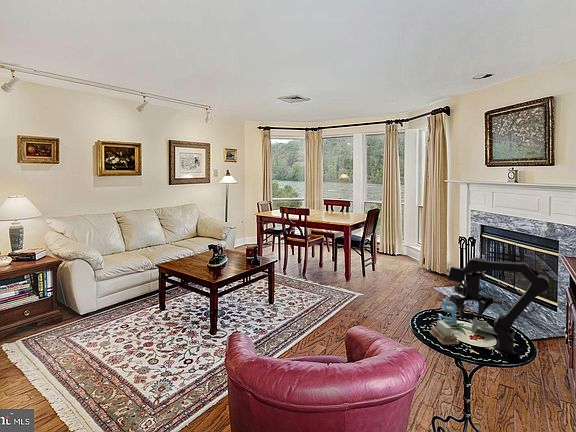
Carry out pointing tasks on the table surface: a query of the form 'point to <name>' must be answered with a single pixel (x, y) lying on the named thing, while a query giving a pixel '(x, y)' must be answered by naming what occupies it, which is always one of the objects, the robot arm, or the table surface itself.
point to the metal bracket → (481, 326)
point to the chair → (449, 309)
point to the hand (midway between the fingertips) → (469, 316)
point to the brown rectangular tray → (443, 339)
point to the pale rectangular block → (443, 328)
